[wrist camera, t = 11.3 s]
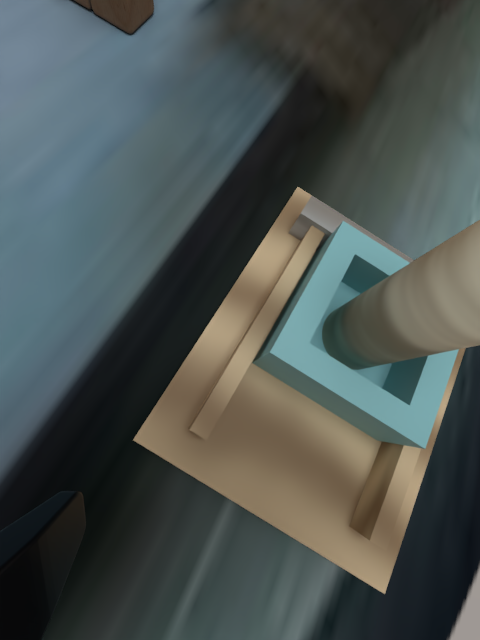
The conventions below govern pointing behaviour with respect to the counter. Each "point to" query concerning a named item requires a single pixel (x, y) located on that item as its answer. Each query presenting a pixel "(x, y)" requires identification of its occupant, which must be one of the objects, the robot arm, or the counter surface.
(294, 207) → the rail base
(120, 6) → the wooden block
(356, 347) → the birch dowel
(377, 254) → the socket block
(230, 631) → the counter surface
